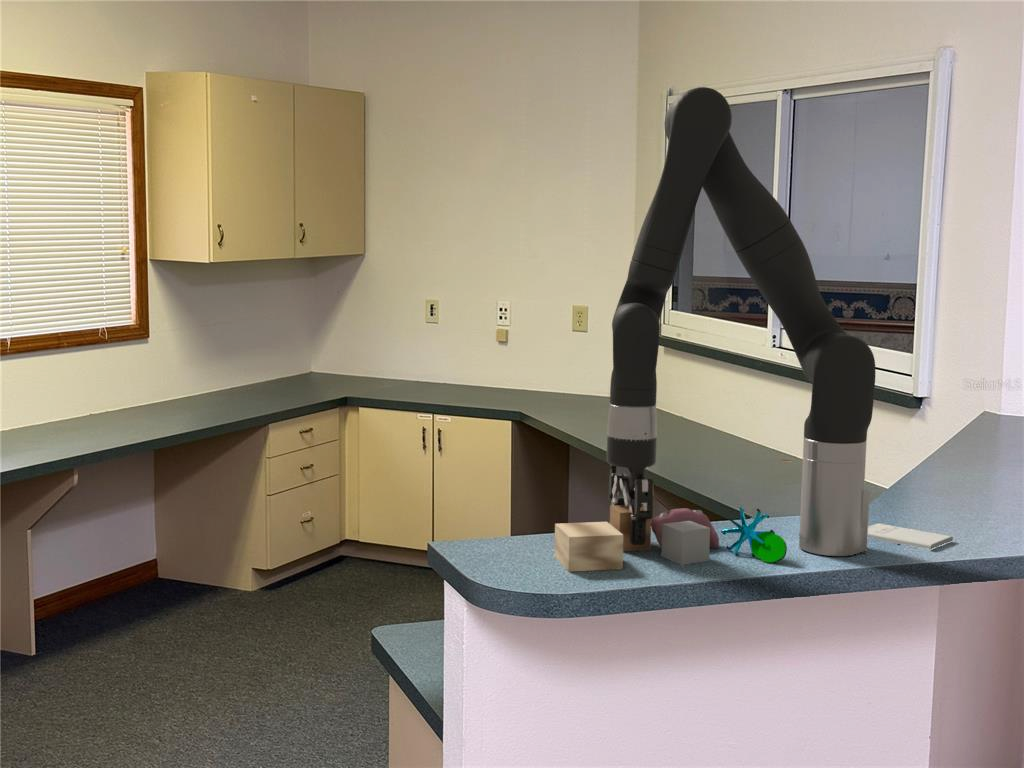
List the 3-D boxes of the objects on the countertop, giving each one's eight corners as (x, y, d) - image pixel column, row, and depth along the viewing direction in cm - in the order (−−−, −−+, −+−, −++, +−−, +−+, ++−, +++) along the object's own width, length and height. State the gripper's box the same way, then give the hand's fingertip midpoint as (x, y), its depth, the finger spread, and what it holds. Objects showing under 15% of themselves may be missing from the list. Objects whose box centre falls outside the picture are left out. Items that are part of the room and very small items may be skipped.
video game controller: (708, 552, 174) (699, 509, 176) (723, 546, 170) (713, 502, 172) (653, 558, 170) (644, 514, 173) (666, 552, 166) (657, 506, 169)
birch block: (606, 554, 166) (606, 521, 166) (622, 568, 159) (623, 534, 158) (554, 556, 165) (555, 523, 164) (568, 571, 157) (569, 537, 156)
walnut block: (639, 541, 174) (640, 504, 174) (650, 550, 170) (651, 511, 169) (609, 543, 173) (610, 505, 173) (619, 551, 168) (619, 512, 168)
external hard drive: (930, 555, 171) (855, 539, 179) (952, 545, 177) (878, 531, 185) (930, 544, 171) (855, 529, 179) (953, 535, 176) (879, 521, 185)
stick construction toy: (709, 535, 170) (740, 495, 170) (730, 553, 175) (761, 514, 175) (762, 575, 161) (796, 532, 161) (783, 593, 165) (816, 552, 165)
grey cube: (688, 552, 168) (689, 520, 168) (708, 561, 164) (710, 528, 163) (661, 556, 166) (662, 524, 165) (681, 565, 162) (682, 531, 161)
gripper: (671, 441, 163) (667, 548, 165) (640, 426, 177) (637, 525, 179) (622, 441, 162) (619, 550, 164) (595, 426, 176) (592, 527, 177)
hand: (628, 537), depth 171 cm, fingers open, 8 cm apart
